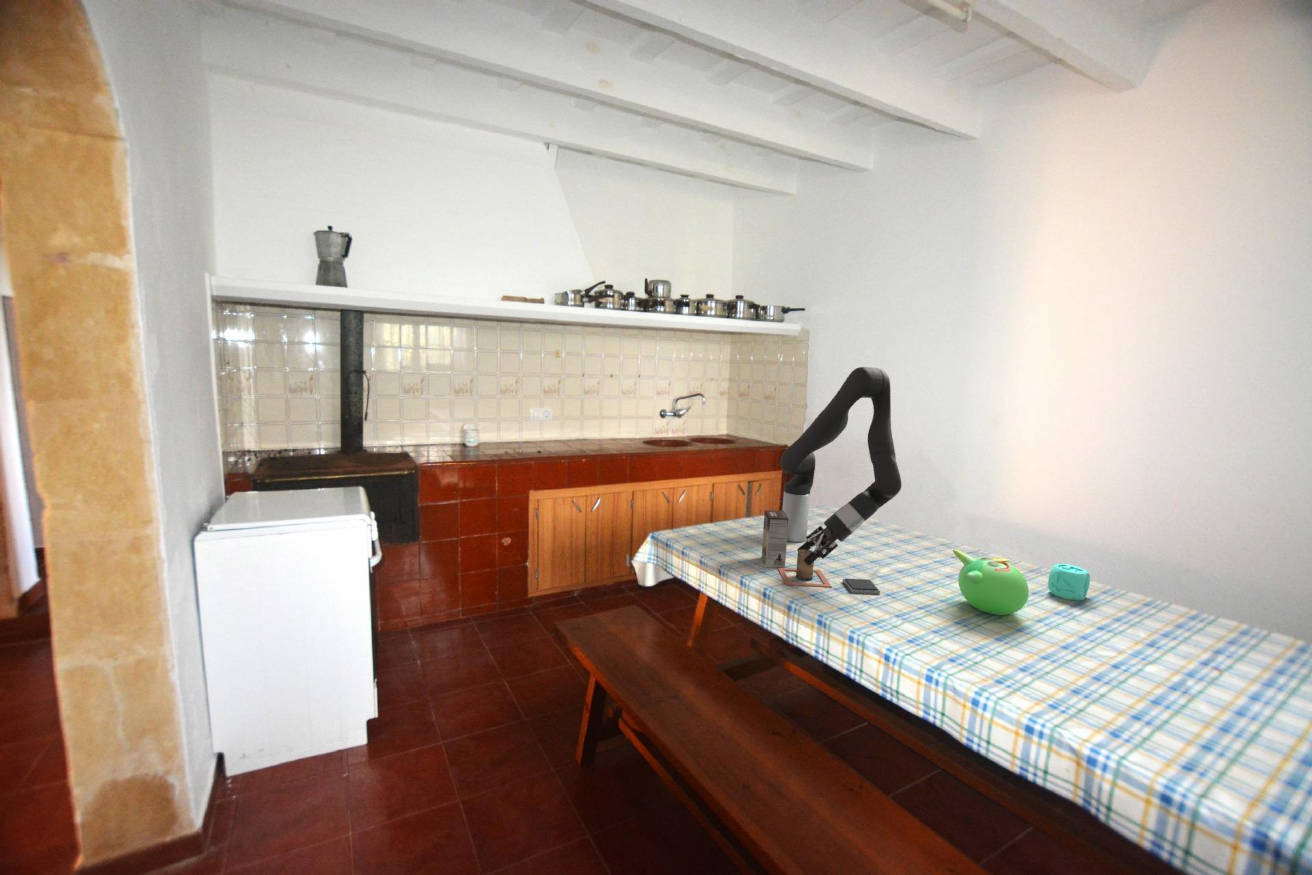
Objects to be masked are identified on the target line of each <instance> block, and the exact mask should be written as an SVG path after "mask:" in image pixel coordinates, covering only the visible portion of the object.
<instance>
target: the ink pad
mask: <svg viewBox="0 0 1312 875" xmlns="http://www.w3.org/2000/svg"><path fill="white" fill-rule="evenodd" d="M842 583H843V585H844V586H845V587H846V589H847V590H848V591H849V593H850V594H863V595H864V594H865V595H880V594H881V590H880V589H879V588H878V587H877V586H876V584H874V582H872V580H871V579H862V578H861V579H860V578H842Z"/></svg>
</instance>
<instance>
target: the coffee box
mask: <svg viewBox="0 0 1312 875" xmlns="http://www.w3.org/2000/svg"><path fill="white" fill-rule="evenodd" d="M763 515H764V517H763V528H762V532H763V533H762V542H761V544H762V546H761V558H762V561H763V564H764V565H765V567H767V568H786V556H787V545H788V541H787V535H788V522H789V518H788V517H787V515H786V514H785V512H784V511H783V510H771V509H770V510H766V509H764V514H763Z"/></svg>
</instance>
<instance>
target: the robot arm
mask: <svg viewBox="0 0 1312 875" xmlns="http://www.w3.org/2000/svg"><path fill="white" fill-rule="evenodd" d="M891 392H892V390H891V380H890V376H889V374H888V372H887V371H886V370H884V369H883V368H878V367H868V366H860V367H857V368H855V369H853V370H852V371H851V372H850V373H849V375H848V376H847V378H845V380H844V382H843V383H842V385H841V386H840V388H839V389H838V391H837V392H836V394H835V395H834V396H833V397H832V399H831V400H830V402H829V403H828V404H827V405H826V406H825V408H824V409H822V411H820V413H819V414H818V415H817V416H816V417H815V418H814V420H813V421H812V423H811V424H810V425H809V426H808V427H807V429H805V430H804V432H803V433H802V434H801V435H800V437H799V438H797V439H796V440H795V441H794V442H793V443H791V445H790V446H788V447H787V448H786V449H785V450H784V452H783V453H782V455H781V458H780V467H781V469H782V472H784V473H785V474H788V475H794V476H793V478H792V479H790V480H788V481H787V482H785V484H784V486H783V487H784V488H783V496H782V498H783V500H782V501H783V502H782V511H784V512H785V514H786V515H787V517H788V518H789V522H788V535H787V542H792V543H802V542H803V544H802V545H801V546H799V547H798V548H797V549H796V551H797V552H798V550H802V549H805V550H811V549H812V548H813V547H814V549H813V550H812V551H813V552H814V553H813V552H812V553H810V554H809V555H808V556H807V557H806V558H804V562H805V563H806V564H807V565H810V564H811V563H813V562H814V563H815V561H816V560H817V559H820V558H821V559H822V560H823V559H825V558H826V557H827V556H829V555H830V554H831V553H832V552H833V551H834V550H836V549H837V547H838V546H839V545H838V543H837V542H836V540H838V541H839V542H840V543H842V542H843V541H845V540H846V539H847V538H848V537H850V536H851V535H852V534H853V533H854V532H856V531H857V530H858V529H859V528H860V527H861V526H862V525H863V524H864V523H865V522H866V521H867V520H868V519H869V518H870V517H872V516H873V515H874V514H875V513H876V512H877V511H878V509H880V508H881V507H883V506H884V505H885V504H887V503H888V502H889V501H891V500H892V499H893V498H894V497H896V496H897V495H898V494H899V493H900V492H901V490H902V478H901V473H900V469H899V466H898V464H897V458H896V457H897V456H896V450H895V443H894V438H893V432H892V420H891V417H892V409H891V408H892V407H891V406H892V404H891V402H892V400H891ZM863 398H865V399H866V398H867V399H870V400H871V402H872V408H873V415H872V420H871V423H870V425H869V428H868V432H867V446H868V453H869V458H870V461H871V464H872V468H873V476H874V482H872V483H871V484H870V485H869V486H868V487H867V488H866V489H864V490H863V491H862V492H860V493H858V494H857V495H855V496H854V497H853V498H852V499H851V500H850V501H848V502H847V503H846V504H845V505H844V504H843V506H841V507H840V508H839V509H837V510H836V511H835V512H834V513H833V514H831V515H830V516H828V518H827V519H826V520H825V521H824V522H823V524H824V526H825V528H824V527H823V526H822V525H819V526H818V527H816V528H815V529H814V530H813V531H812V532H810V533H809V534H808V529H809V528H808V527H809V526H808V525H809V515H810V514H809V513H810V501H811V490H812V488H813V486H814V479H815V471H816V455H815V453H814V452H816V451H818V450H820V449H821V448H824V447H826V446H827V445H830V444H831V443H832V442H834V441H835V440H836V439H837V438H838V437H839V436H840V435H841V434H842V433H843V432H844V430H845V429H846V428H847V425H848V422H849V412H850V410H851V408H852V407H853V406H854V405H855V404H856V403H857V402H858V401H859V400H860V399H863Z"/></svg>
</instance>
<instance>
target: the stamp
mask: <svg viewBox="0 0 1312 875" xmlns="http://www.w3.org/2000/svg"><path fill="white" fill-rule="evenodd" d="M813 551H814V550H811V549H809V550H805V549H802V550H798V551H797V555H796V556H797V560H796V569H797V570H796V571H795V573H796V574H795V578H796V579H797V580H799V581H803V582H810V581H813V579H814V578H813V577H814V572H813V569H814V564H815V561H814V562H813V563H811V564H810V565H807V564H806V563H805V562H804V558H806V557H807V556H808V555H809V554H810V553H812V552H813ZM813 553H814V552H813Z"/></svg>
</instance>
